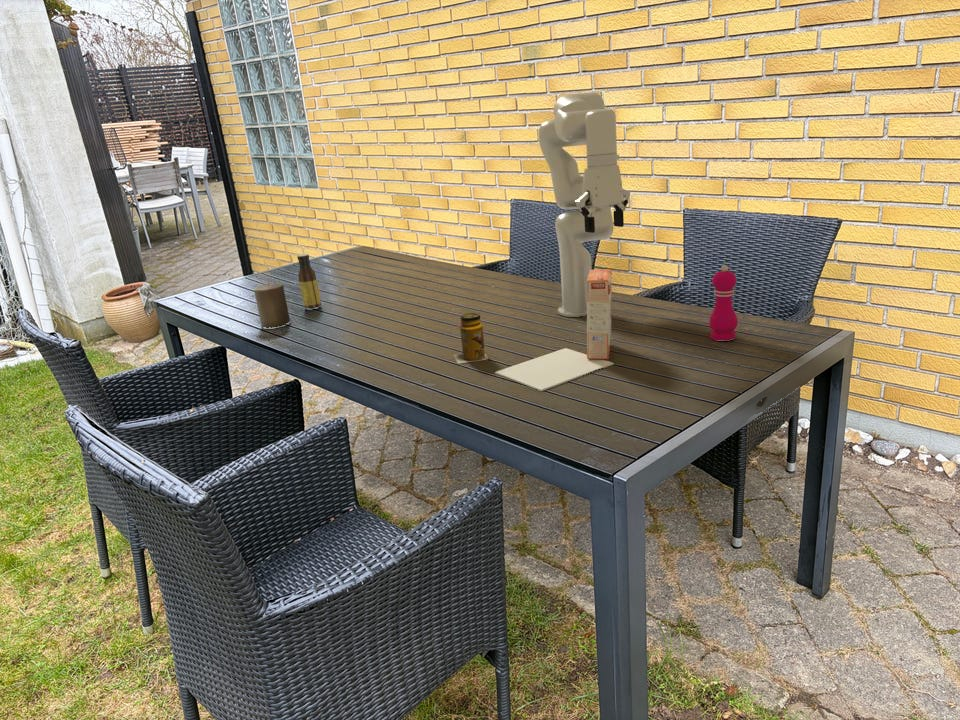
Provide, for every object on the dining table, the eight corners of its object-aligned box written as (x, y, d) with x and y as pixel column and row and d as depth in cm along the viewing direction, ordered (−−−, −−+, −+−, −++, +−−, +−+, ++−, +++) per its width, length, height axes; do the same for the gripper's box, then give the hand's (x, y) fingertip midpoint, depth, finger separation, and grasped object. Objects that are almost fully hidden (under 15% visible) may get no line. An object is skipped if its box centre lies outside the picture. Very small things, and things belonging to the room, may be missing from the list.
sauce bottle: (317, 305, 270) (308, 252, 264) (325, 307, 266) (316, 253, 259) (301, 309, 267) (291, 255, 260) (309, 312, 262) (299, 257, 255)
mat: (565, 349, 199) (565, 348, 199) (613, 364, 185) (613, 362, 185) (495, 373, 186) (495, 372, 186) (541, 391, 172) (541, 389, 172)
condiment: (489, 359, 197) (485, 316, 193) (458, 364, 195) (453, 321, 191) (483, 351, 204) (479, 310, 200) (453, 356, 202) (448, 314, 198)
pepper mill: (738, 335, 198) (741, 262, 191) (735, 343, 192) (737, 268, 185) (711, 333, 201) (712, 261, 194) (706, 342, 195) (707, 268, 188)
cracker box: (610, 360, 187) (610, 279, 180) (586, 360, 188) (585, 280, 182) (612, 344, 200) (612, 268, 193) (589, 343, 201) (589, 268, 195)
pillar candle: (296, 323, 249) (288, 280, 244) (271, 331, 242) (262, 287, 237) (280, 320, 255) (272, 278, 251) (255, 327, 249) (247, 284, 244)
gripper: (618, 157, 192) (620, 223, 197) (565, 165, 184) (569, 233, 189) (638, 157, 186) (639, 225, 191) (584, 165, 178) (587, 235, 183)
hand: (604, 229), depth 190 cm, fingers open, 9 cm apart
